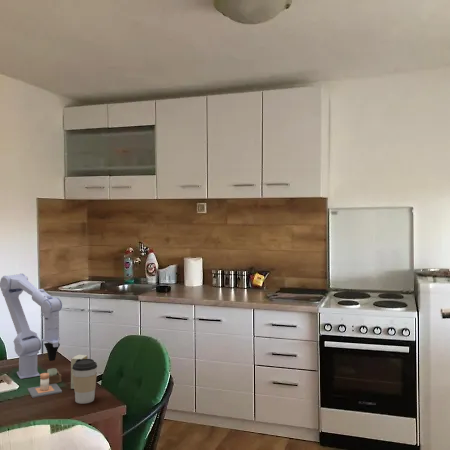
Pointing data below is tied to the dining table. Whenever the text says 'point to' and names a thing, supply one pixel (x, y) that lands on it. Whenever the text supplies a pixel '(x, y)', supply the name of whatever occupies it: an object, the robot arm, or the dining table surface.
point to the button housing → (55, 378)
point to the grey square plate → (38, 393)
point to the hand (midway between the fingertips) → (52, 360)
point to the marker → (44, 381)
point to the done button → (52, 372)
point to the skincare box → (72, 366)
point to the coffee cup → (84, 380)
